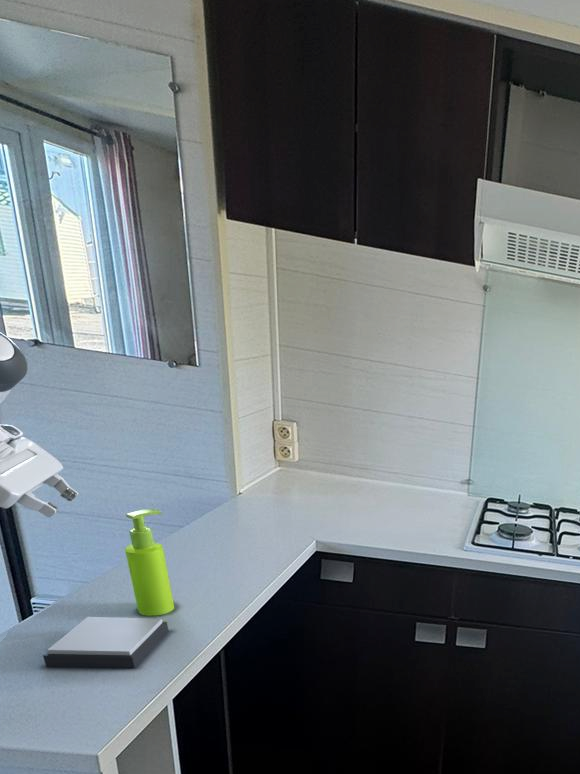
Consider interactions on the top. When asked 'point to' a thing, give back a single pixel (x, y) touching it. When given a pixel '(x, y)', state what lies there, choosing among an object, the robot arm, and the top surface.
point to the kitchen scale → (107, 643)
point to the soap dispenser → (148, 568)
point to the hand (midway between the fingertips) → (65, 505)
